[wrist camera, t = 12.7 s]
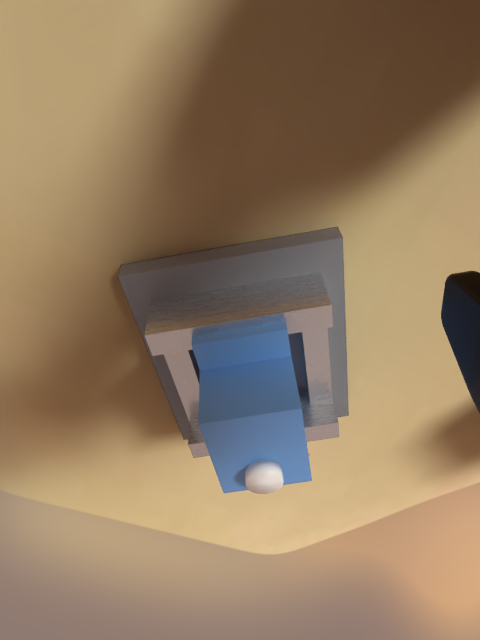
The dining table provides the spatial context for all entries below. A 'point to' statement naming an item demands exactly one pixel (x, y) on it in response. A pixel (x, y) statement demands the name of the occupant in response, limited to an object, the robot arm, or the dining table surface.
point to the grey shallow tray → (247, 318)
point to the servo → (251, 408)
